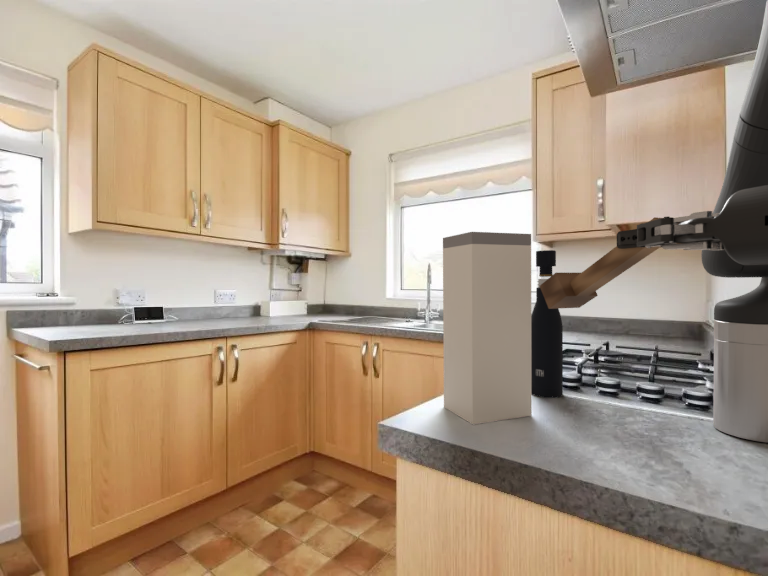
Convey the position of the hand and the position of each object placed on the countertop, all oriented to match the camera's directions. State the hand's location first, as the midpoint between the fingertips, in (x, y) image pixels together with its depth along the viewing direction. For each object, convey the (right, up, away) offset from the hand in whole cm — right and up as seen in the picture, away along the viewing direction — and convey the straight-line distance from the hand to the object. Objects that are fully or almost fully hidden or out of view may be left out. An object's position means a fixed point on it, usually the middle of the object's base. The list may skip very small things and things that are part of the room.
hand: (627, 240), depth 52 cm
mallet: (-1, -4, +2) cm, 5 cm away
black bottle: (+3, -29, +33) cm, 44 cm away
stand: (-13, -29, +22) cm, 38 cm away
